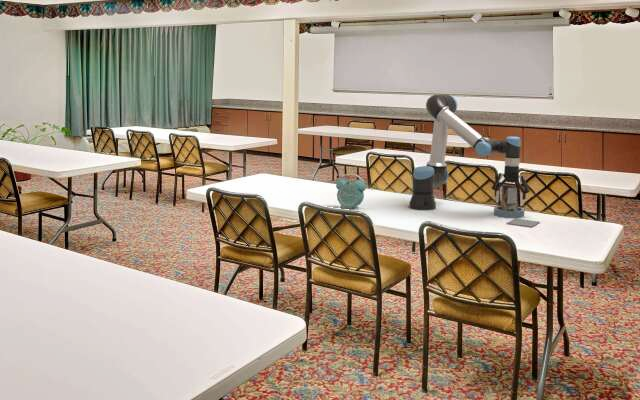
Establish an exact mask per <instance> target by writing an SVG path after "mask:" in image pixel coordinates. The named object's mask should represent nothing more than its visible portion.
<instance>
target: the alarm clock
mask: <svg viewBox="0 0 640 400" xmlns="http://www.w3.org/2000/svg"><path fill="white" fill-rule="evenodd" d="M350 175H351V176H355V177H357V178H358V179H357V180H354V182H352V180H348V179H345V178H344V177H346V176H350ZM335 187H336V190H337V192H336V199H337V201H338V203H339V205H340V206H339V207H340V208H339V209H342V208H343V207H344V208H347V209H349V208H354V209H355V208H356V209H359V208H358V206H359V205H361V204H362V203H363V201H364V197H365V194H364V193H365V191H366V189H367V184H366V181H365V179H363V178H361V176H359V175H358V174H357V173H346V174H344V175H342V176H341V177H339V178H338V179H337V181H336V184H335ZM356 209H355V210H356Z"/></svg>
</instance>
